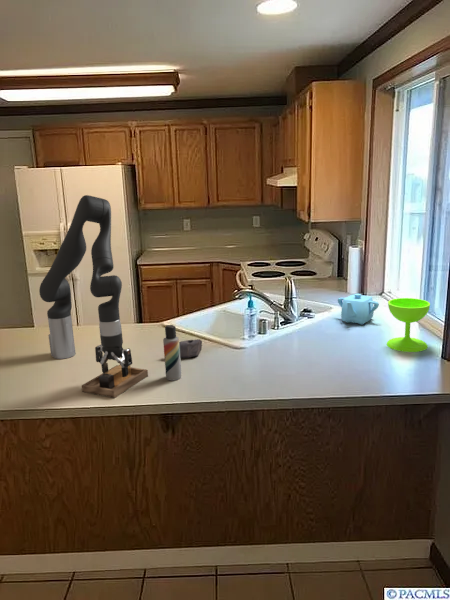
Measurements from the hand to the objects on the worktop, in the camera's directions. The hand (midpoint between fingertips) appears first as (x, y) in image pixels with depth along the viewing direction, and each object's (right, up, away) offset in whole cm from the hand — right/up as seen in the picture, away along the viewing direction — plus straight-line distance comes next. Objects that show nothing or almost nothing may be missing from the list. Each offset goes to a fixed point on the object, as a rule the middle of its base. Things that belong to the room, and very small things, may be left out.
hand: (115, 374), depth 183 cm
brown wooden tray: (0, -3, +1) cm, 3 cm away
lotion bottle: (+21, -2, +4) cm, 21 cm away
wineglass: (+114, +8, +26) cm, 117 cm away
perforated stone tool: (+23, +3, +24) cm, 34 cm away
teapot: (+102, +16, +60) cm, 119 cm away
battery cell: (0, -3, +1) cm, 3 cm away
